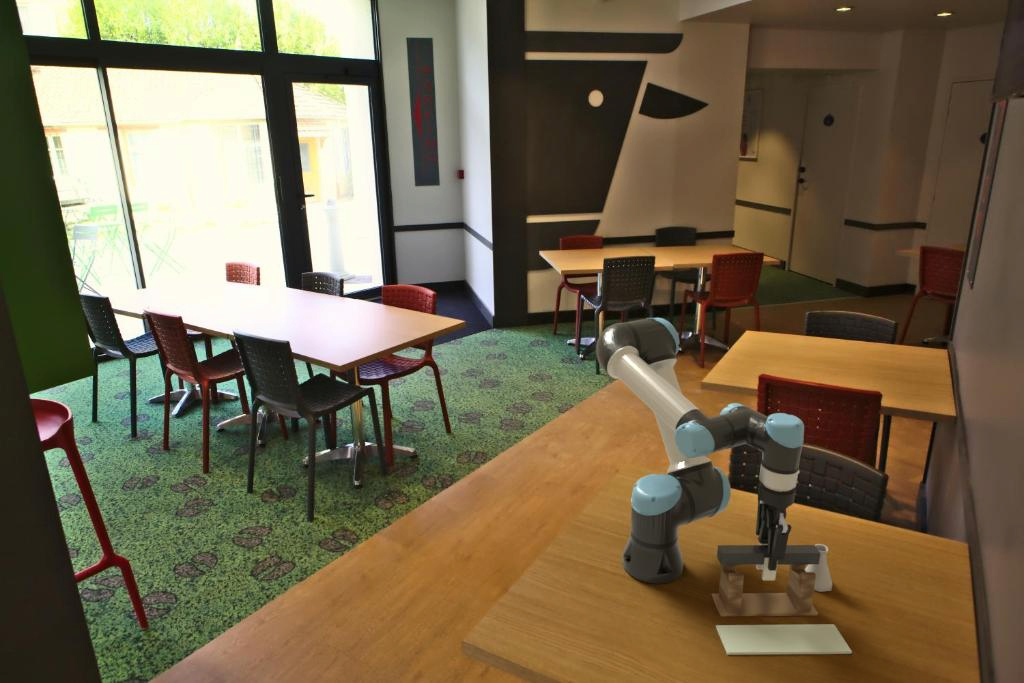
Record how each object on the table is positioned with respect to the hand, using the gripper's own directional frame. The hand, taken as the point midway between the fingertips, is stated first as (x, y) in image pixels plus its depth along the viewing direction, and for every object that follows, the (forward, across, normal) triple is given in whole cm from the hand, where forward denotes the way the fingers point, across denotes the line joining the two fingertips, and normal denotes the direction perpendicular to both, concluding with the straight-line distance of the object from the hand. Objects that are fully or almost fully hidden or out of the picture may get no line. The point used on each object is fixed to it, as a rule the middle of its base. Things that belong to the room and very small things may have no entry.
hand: (765, 573), depth 148 cm
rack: (+8, -1, 0) cm, 8 cm away
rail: (-4, 0, 0) cm, 4 cm away
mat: (+8, -12, 0) cm, 14 cm away
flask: (+9, +7, -16) cm, 19 cm away
